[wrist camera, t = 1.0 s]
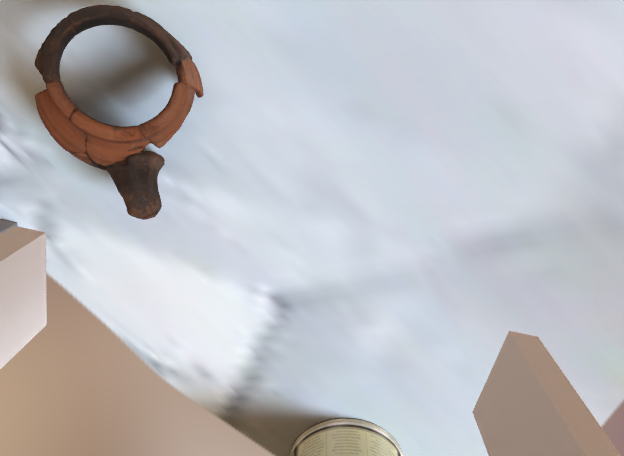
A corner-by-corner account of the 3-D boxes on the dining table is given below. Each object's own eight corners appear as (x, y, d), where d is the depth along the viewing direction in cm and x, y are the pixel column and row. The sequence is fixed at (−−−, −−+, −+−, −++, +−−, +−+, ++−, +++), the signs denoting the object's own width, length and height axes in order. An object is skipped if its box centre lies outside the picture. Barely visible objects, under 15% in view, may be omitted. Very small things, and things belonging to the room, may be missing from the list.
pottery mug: (32, 65, 30) (-14, 5, 22) (173, 36, 33) (177, -26, 25) (97, 237, 31) (75, 238, 23) (229, 195, 34) (249, 182, 26)
